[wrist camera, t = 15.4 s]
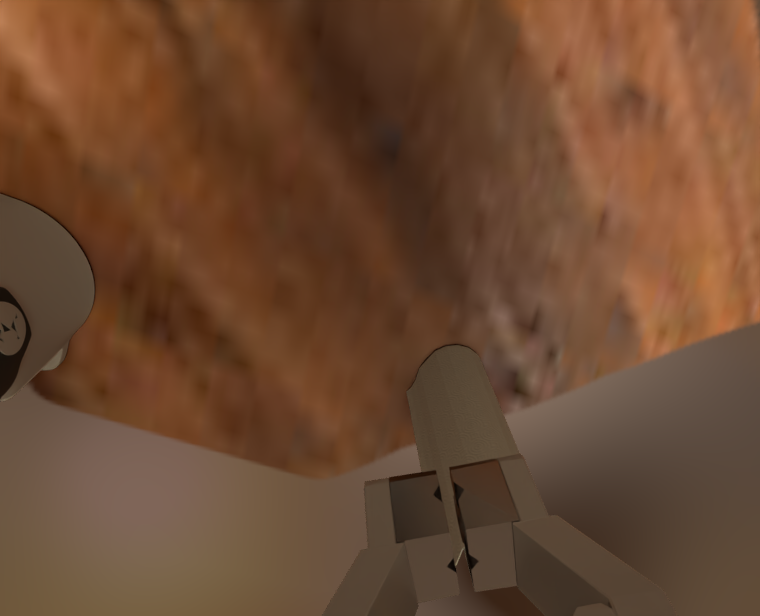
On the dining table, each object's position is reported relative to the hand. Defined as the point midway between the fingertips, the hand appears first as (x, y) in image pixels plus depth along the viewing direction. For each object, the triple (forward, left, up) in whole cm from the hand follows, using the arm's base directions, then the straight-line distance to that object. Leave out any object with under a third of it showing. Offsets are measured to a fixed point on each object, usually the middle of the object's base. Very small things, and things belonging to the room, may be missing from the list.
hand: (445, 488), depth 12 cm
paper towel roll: (+4, -24, -37) cm, 45 cm away
